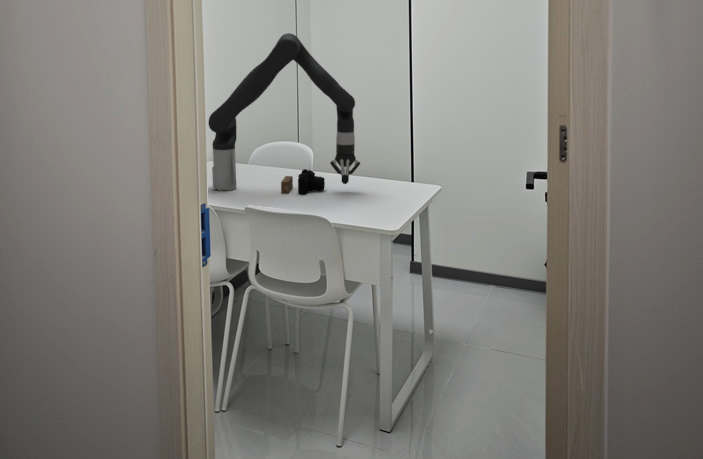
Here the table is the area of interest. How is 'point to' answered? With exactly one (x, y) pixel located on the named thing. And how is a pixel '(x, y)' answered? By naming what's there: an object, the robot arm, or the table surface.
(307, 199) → the table surface
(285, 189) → the bar
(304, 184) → the film camera
